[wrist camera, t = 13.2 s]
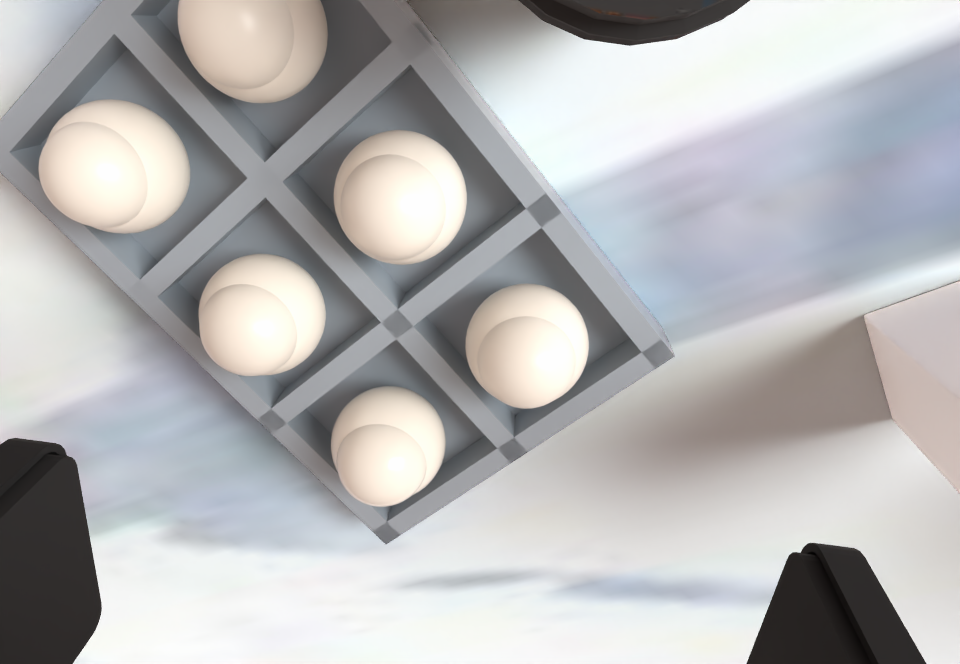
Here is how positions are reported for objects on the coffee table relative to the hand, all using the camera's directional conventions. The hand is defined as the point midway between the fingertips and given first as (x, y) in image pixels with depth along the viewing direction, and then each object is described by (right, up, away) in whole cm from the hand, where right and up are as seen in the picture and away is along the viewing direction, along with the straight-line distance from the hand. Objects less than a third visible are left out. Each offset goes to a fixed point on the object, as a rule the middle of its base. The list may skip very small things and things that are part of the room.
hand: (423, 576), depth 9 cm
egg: (-3, -1, +25) cm, 26 cm away
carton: (-5, +8, +23) cm, 25 cm away
